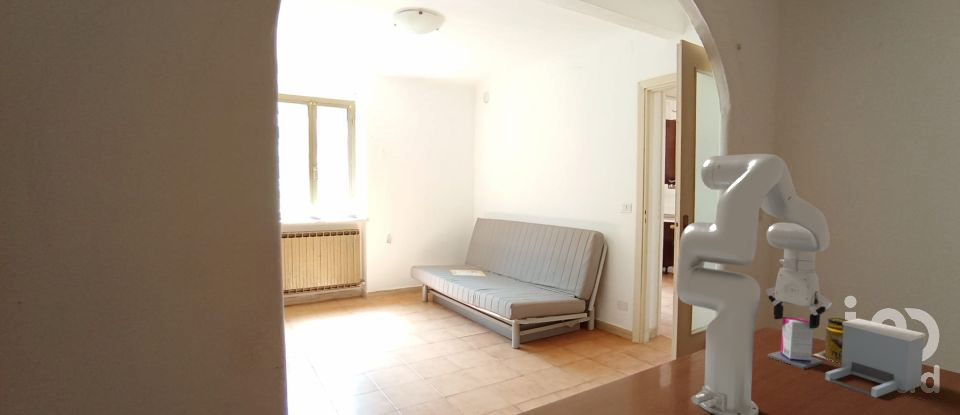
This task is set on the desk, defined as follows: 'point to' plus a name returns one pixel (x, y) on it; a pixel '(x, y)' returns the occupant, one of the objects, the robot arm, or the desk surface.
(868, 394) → the bar
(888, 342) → the dispenser
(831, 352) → the condiment
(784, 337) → the supplement box
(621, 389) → the desk surface
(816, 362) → the coaster
